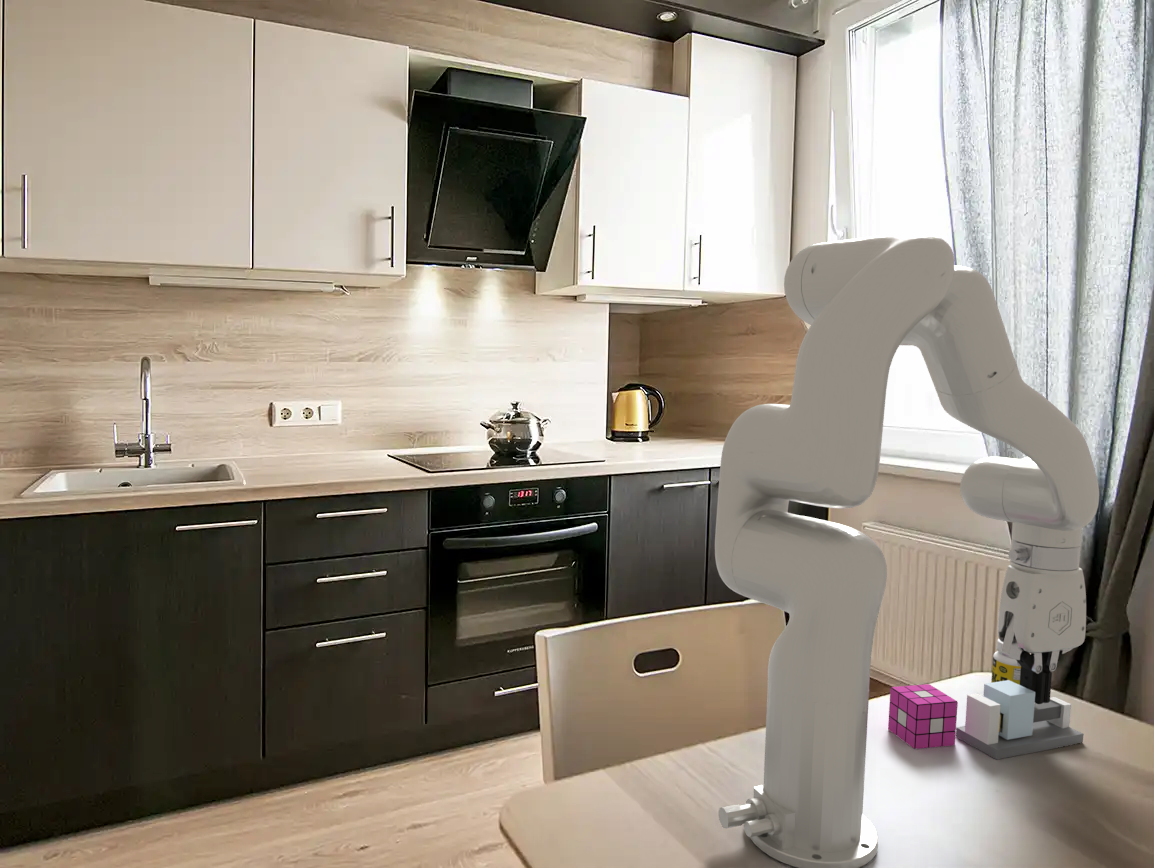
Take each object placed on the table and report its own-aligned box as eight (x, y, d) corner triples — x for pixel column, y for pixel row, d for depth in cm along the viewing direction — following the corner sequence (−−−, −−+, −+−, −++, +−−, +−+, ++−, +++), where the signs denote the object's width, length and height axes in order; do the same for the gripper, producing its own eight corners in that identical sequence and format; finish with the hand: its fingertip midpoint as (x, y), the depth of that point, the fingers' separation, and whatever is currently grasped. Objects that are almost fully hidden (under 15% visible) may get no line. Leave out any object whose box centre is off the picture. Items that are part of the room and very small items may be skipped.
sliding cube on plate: (996, 759, 102) (999, 710, 102) (955, 736, 108) (958, 690, 108) (1082, 742, 107) (1086, 696, 107) (1039, 721, 113) (1042, 677, 113)
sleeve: (1007, 739, 104) (1010, 696, 104) (981, 726, 108) (984, 683, 108) (1032, 735, 106) (1035, 692, 105) (1005, 721, 109) (1008, 680, 109)
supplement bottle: (983, 693, 122) (987, 636, 122) (1014, 693, 123) (1018, 635, 122) (1003, 707, 118) (1007, 648, 117) (1035, 706, 118) (1040, 647, 117)
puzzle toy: (955, 745, 106) (958, 701, 105) (914, 750, 105) (917, 704, 104) (926, 726, 112) (929, 683, 111) (887, 729, 110) (890, 686, 110)
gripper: (1023, 567, 100) (1013, 719, 102) (1116, 559, 105) (1104, 703, 107) (973, 553, 107) (964, 695, 109) (1062, 545, 112) (1052, 681, 114)
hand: (1034, 699), depth 108 cm, fingers closed
